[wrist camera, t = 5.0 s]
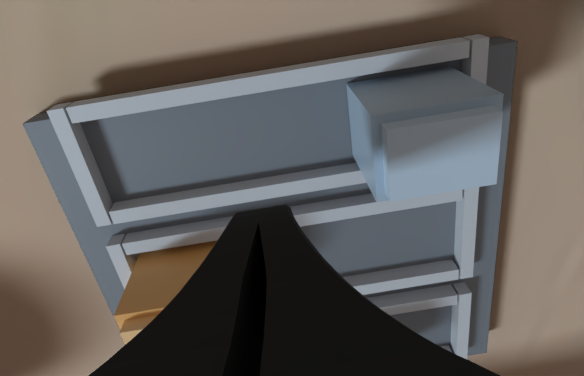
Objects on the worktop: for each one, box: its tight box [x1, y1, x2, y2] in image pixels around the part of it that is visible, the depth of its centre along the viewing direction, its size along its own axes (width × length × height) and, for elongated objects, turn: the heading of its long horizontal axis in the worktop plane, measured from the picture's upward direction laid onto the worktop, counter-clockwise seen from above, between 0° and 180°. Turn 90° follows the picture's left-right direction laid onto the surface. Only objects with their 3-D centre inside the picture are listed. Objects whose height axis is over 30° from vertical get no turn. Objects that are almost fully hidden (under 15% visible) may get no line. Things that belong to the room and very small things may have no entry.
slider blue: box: [346, 66, 504, 202], centre depth 15 cm, size 3×4×5 cm
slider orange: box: [114, 240, 217, 345], centre depth 18 cm, size 3×4×5 cm
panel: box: [23, 34, 518, 359], centre depth 20 cm, size 18×19×2 cm
